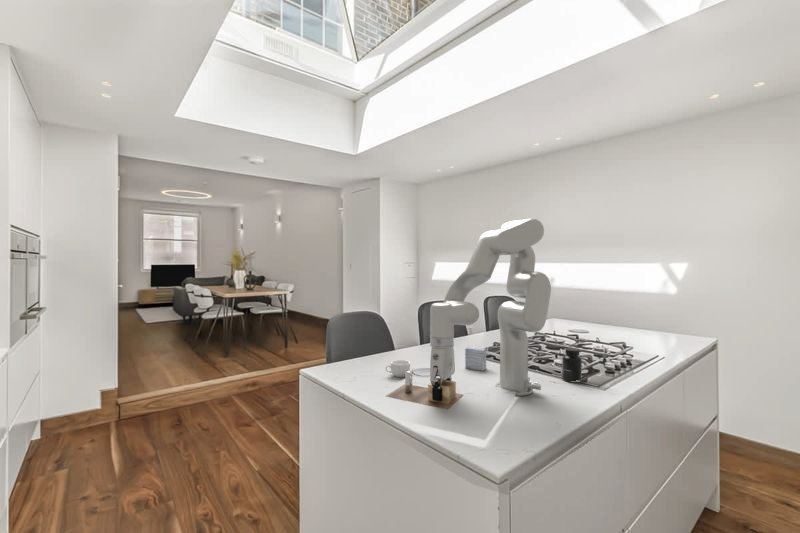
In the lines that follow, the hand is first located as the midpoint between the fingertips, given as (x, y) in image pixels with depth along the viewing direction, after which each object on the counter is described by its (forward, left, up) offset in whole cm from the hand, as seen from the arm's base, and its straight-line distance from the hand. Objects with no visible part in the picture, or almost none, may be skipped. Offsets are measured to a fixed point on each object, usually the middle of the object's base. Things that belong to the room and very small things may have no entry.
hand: (442, 396), depth 120 cm
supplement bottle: (-34, -46, -2) cm, 57 cm away
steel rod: (+12, 0, -1) cm, 12 cm away
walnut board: (+6, 0, -2) cm, 7 cm away
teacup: (+27, -18, -3) cm, 32 cm away
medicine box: (+3, -43, -3) cm, 43 cm away
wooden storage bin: (0, 0, -1) cm, 1 cm away
